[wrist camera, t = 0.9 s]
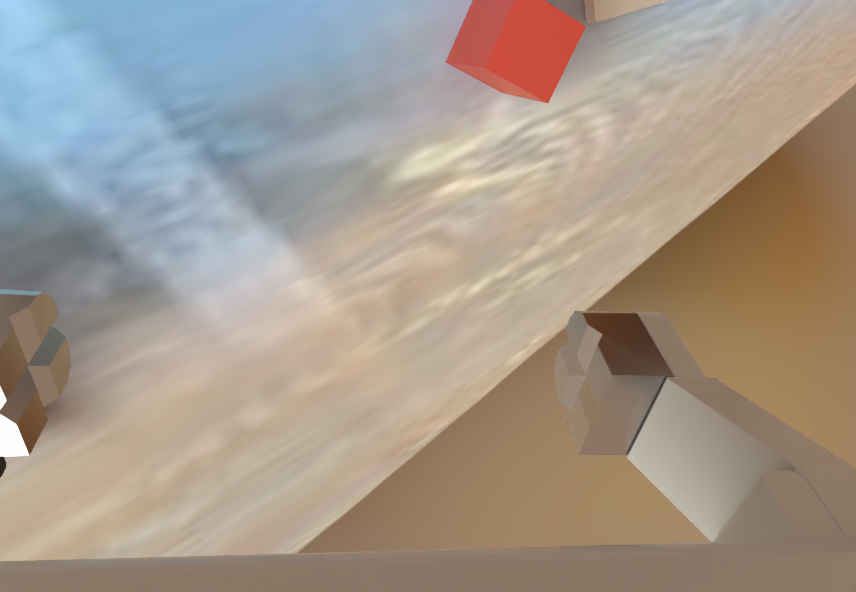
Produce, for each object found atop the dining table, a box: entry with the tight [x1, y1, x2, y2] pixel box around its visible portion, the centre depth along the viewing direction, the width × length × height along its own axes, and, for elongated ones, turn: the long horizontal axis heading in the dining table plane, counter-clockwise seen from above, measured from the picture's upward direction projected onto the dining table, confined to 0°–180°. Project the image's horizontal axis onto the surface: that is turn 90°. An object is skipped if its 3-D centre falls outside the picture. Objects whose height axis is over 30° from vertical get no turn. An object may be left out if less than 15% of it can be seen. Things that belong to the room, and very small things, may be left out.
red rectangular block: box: [446, 0, 586, 103], centre depth 45 cm, size 6×6×8 cm
